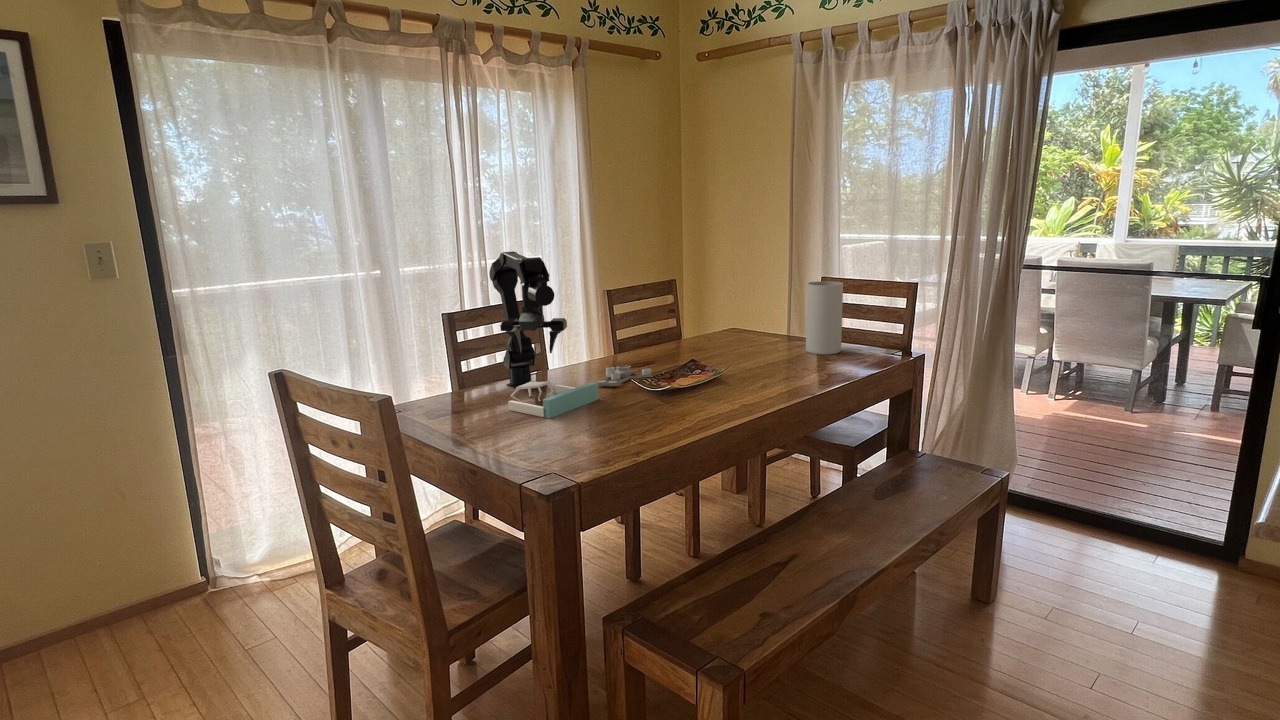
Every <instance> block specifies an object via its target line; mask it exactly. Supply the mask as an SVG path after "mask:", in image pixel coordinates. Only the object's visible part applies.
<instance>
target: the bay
mask: <svg viewBox="0 0 1280 720" xmlns="http://www.w3.org/2000/svg"><path fill="white" fill-rule="evenodd" d="M598 389H599V388H598V385H597V382H593V381H592V382H588V383H584V384H583V385H580V386H577V387H574V386H567V385H563V384H555V394H554V395H552V396H549V397H545V398H543V399H542V406H540V405H537V404H530V403H528V402H521V401H519V402H517V401H518V400H516V401H515V400H508V410H509V411H512V412H517V413H521V414H527V415H531V416H535V417H536V416H537V417H541V418H546V419H551V418H554V417H556V416H560V415H562V414H565V413H567V412H570V411H572V410H575V409H577V408H579V407H582V406H585V405H588V404H590V403H593V402H595V401H598V400H599V393H598V392H599V391H598Z"/></svg>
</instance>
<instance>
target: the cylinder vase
mask: <svg viewBox="0 0 1280 720" xmlns="http://www.w3.org/2000/svg"><path fill="white" fill-rule="evenodd" d="M843 295H844V283H843V282H841V281H829V280H821V281H810V282H807V283H806V318H805V319H806V323H805V324H806V325H805V327H806V328H805V331H806V332H805V338H806V339H805V350H806V352H807V353H809V354H813V355H823V356H824V355H836V354H839V353H840V352H841V351H842V333H843V329H842V328H843V301H844V300H843V299H844V298H843V297H844V296H843Z"/></svg>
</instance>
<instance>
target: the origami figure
mask: <svg viewBox="0 0 1280 720" xmlns="http://www.w3.org/2000/svg"><path fill="white" fill-rule="evenodd" d="M550 383H551V382H550V381H532V380H531V381H530V382H528V383H526V384H523V385H521V386H518V387H515V390H514V391H513V392H512V393H511V394H510V397H511V398H513V399H515V400H516V401H517V402H521V400H520V399H519V398H517V397H516V396H514V395H515V394H517V392H518V391H520V390H527V391H528V397H529V398H531V397H533V396H532V389H537V388H538V392H539V394H538V397H537V400H538V402H541V401H542V400H541V396H542V393H543V391H542V388H541V387H543V386H547V387H548V388H549V390H550V393H548V394H547V395H546V396H547V398H549V397H550V395H551V394H553V393H554V392H555V391H554V389H553V387H552V385H551V384H550Z"/></svg>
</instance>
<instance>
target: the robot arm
mask: <svg viewBox="0 0 1280 720" xmlns="http://www.w3.org/2000/svg"><path fill="white" fill-rule="evenodd" d="M489 269H490V270H489V279H490V281H492V282H491V283H492V285H493V288H494V289H495V290H496V291H497V292H498V293H499V294H500V298H501V305H502V308H503V312H504V313H503V315H504V319H503V320H502V321H501V322H500V324H499V326H500V331H501V332H505V334H506V335H508V340H507V343H506V346H505V354H504V357H503V360H502V361H503V365H504V368H506V369H507V370H508V372H509V373H508V374H509V383H506V386H507V387H513V388H516V387H518V386H521V385H523V384H526V383H528V382H530V381H531V382H532V374H531V369H530V368H531V367H533V366H535V360H536V351H535V348H534V347H533V344H532V339H531V338H530V336H528V337H527V335H526V334H525V331H531V332H535V331H537V329H539V328H542V329H543V328H547V329H548V328H550V331H549V332H548V333H549V348H548V349H549V354H552V353H553V350H554V347H555V343H556V340H557V337H558V335H559V334H561V332H563V331H565V330H566V329H567V327H568V321H567V319H566V318H565V317H562V318H561V317H554V318H552V319H551V320H549V321H548V320H547V321H545V316H544V307H547V306H549V305H551V304H552V303H553V301H554V299H555V291H554V290H553V288H552V287H551V286H549V285H548V282H550V273H549V271H548V269H547V266H546V263H545V262H544V261H543V259H542V258H541V257H539V256H537V257H534V256H533V257H527V256H524V255H522V254H519V253H518V252H517V251H503V252H501V253H499V257H498V258H497V259H496V260H495V261H493V262H492V263H491V266H490V268H489ZM518 278H519V279H518ZM519 280H520V285H521V296H522V297H521V298H522V308H521V314H520V309H519V305H518V299H517V294H516V291H515V290H516V287H517V284H518V282H519Z"/></svg>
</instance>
